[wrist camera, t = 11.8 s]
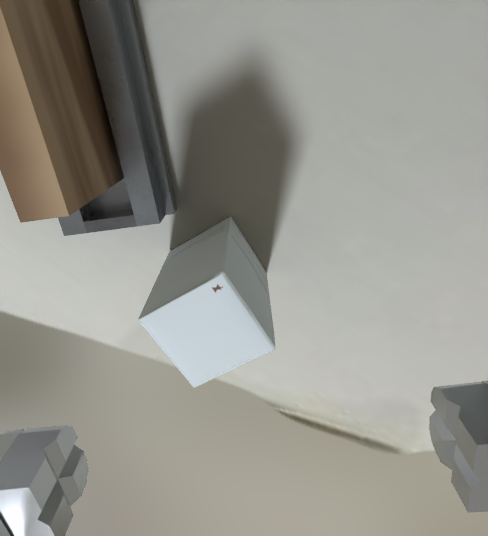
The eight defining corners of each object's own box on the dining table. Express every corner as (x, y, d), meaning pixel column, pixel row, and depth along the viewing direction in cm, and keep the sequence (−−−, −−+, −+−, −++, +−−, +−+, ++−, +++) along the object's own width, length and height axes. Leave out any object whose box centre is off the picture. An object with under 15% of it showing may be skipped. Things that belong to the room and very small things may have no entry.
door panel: (76, -17, 28) (-30, -86, 17) (126, 176, 34) (69, 215, 23) (37, -10, 29) (-93, -74, 18) (93, 181, 34) (20, 222, 23)
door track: (113, -89, 28) (93, -117, 24) (176, 209, 37) (169, 222, 33) (-20, -65, 29) (-59, -88, 25) (74, 223, 37) (55, 237, 34)
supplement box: (167, 250, 39) (133, 318, 27) (231, 214, 37) (225, 268, 25) (207, 307, 41) (191, 391, 30) (269, 275, 40) (278, 350, 28)
